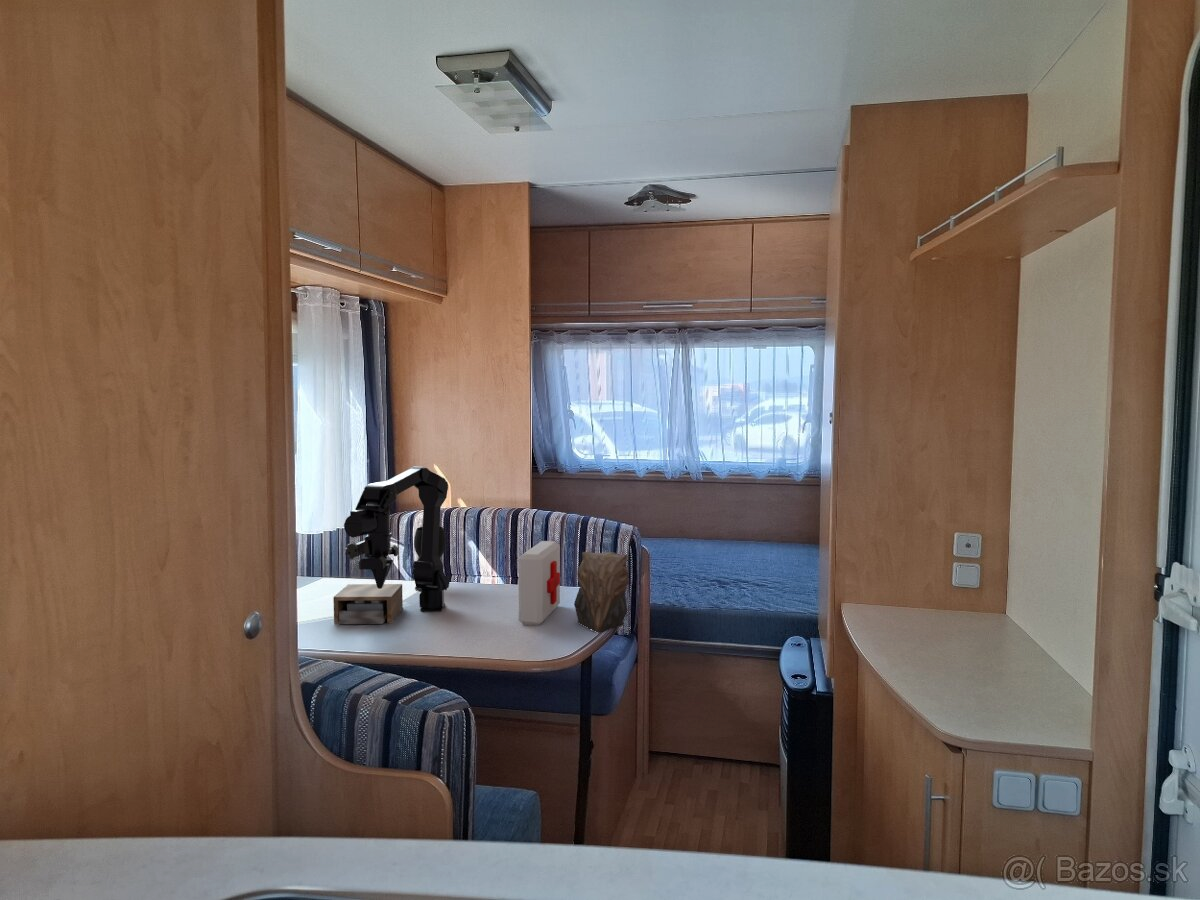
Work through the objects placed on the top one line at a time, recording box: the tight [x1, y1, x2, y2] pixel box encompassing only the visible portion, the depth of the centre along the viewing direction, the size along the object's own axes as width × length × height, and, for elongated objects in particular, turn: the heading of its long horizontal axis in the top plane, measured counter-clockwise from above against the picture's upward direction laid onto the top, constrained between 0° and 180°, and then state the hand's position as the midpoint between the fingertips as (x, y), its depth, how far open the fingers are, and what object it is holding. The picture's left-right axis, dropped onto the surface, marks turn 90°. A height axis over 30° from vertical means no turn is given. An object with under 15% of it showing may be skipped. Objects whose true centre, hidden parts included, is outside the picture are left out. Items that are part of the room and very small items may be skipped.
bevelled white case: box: [517, 540, 561, 626], centre depth 219 cm, size 21×8×20 cm, turn 168°
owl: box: [573, 551, 629, 634], centre depth 211 cm, size 13×13×20 cm
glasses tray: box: [347, 600, 387, 614], centre depth 217 cm, size 10×6×4 cm, turn 92°
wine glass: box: [413, 526, 447, 592], centre depth 249 cm, size 10×10×20 cm
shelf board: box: [338, 610, 387, 625], centre depth 217 cm, size 12×14×4 cm
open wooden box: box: [332, 583, 404, 624], centre depth 218 cm, size 16×14×8 cm
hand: (380, 588), depth 203 cm, fingers closed
